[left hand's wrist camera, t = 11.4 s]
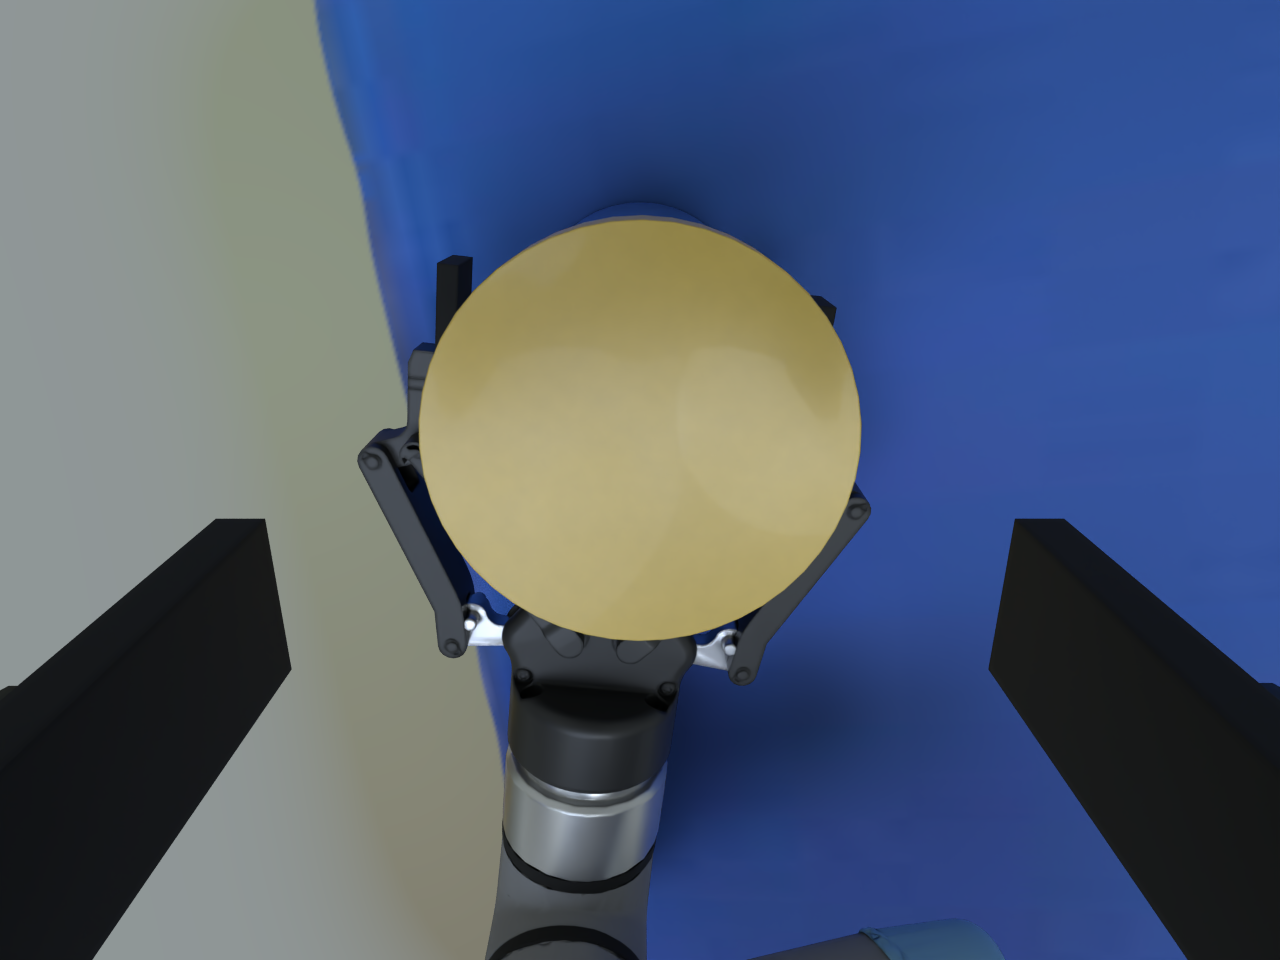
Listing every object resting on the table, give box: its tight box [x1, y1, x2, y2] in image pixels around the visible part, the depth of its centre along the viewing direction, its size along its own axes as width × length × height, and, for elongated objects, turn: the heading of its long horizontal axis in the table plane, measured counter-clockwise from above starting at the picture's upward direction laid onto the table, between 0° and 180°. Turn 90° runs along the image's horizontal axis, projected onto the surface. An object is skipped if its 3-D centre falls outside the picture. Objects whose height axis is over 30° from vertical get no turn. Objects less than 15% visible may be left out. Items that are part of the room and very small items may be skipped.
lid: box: [419, 215, 862, 641], centre depth 21 cm, size 11×11×2 cm
